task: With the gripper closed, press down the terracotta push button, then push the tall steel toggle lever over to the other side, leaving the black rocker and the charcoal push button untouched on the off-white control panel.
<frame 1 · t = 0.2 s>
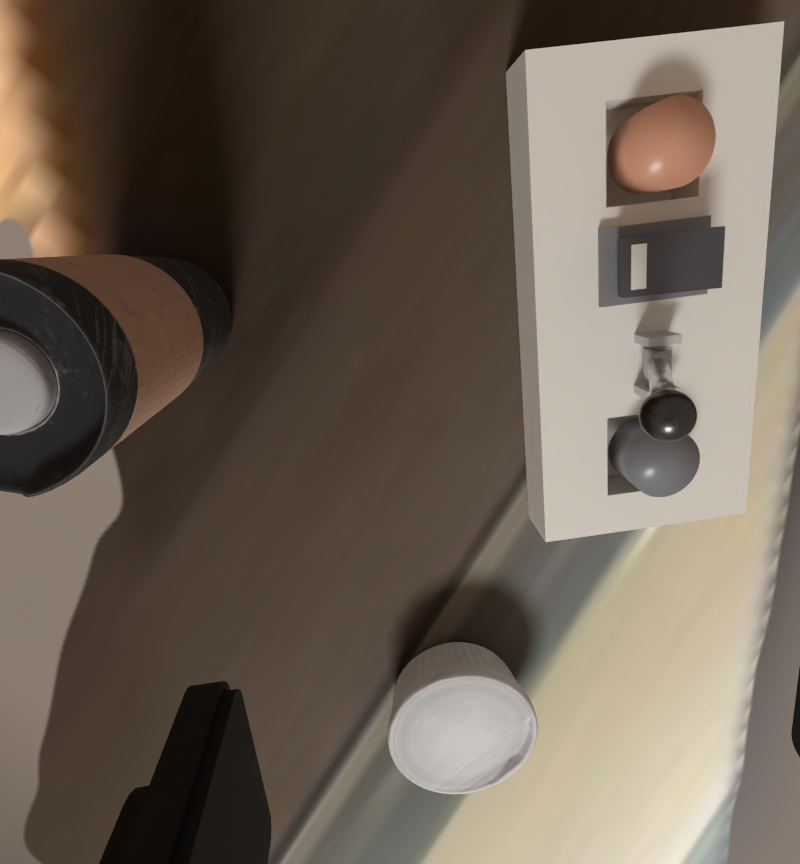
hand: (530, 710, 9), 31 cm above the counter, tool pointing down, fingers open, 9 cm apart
charcoal button: (652, 455, 37), point 5 cm above the counter, slide at 0.0 cm
black rocker: (669, 262, 32), point 6 cm above the counter, hinge at 10.0°
travel mug: (176, 315, 37), on the counter
terracotta button: (659, 148, 31), point 5 cm above the counter, slide at 0.0 cm
toggle lever: (662, 387, 30), point 10 cm above the counter, hinge at 25.0°
control panel: (621, 307, 39), on the counter
ramekin: (451, 684, 47), on the counter
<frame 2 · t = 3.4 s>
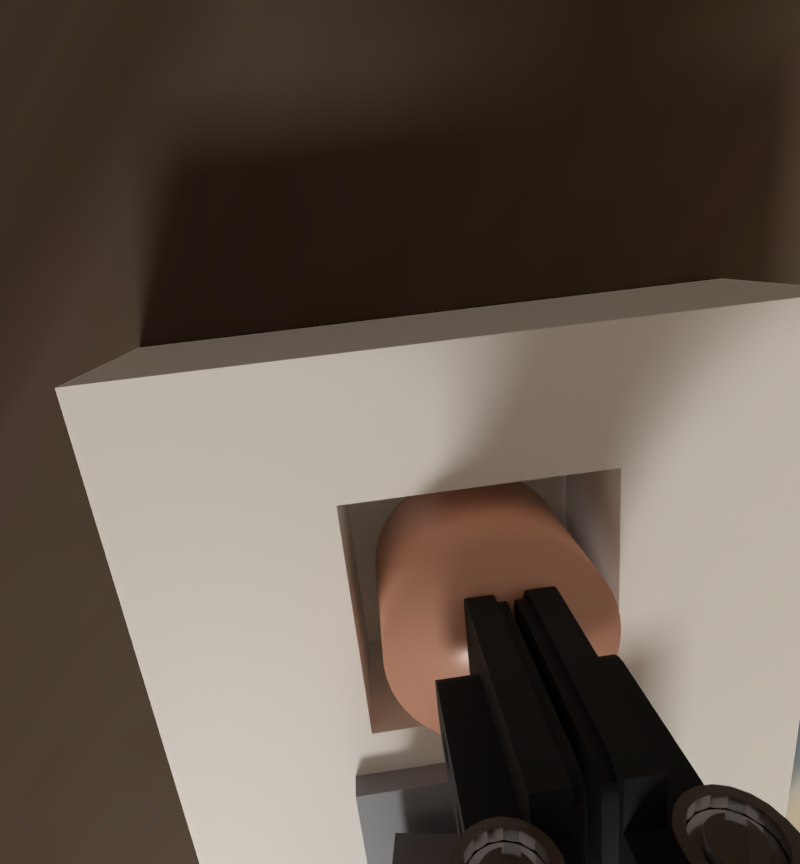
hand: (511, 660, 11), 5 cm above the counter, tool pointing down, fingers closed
terracotta button: (484, 596, 12), point 4 cm above the counter, slide at 1.0 cm, touching gripper
control panel: (476, 774, 18), on the counter
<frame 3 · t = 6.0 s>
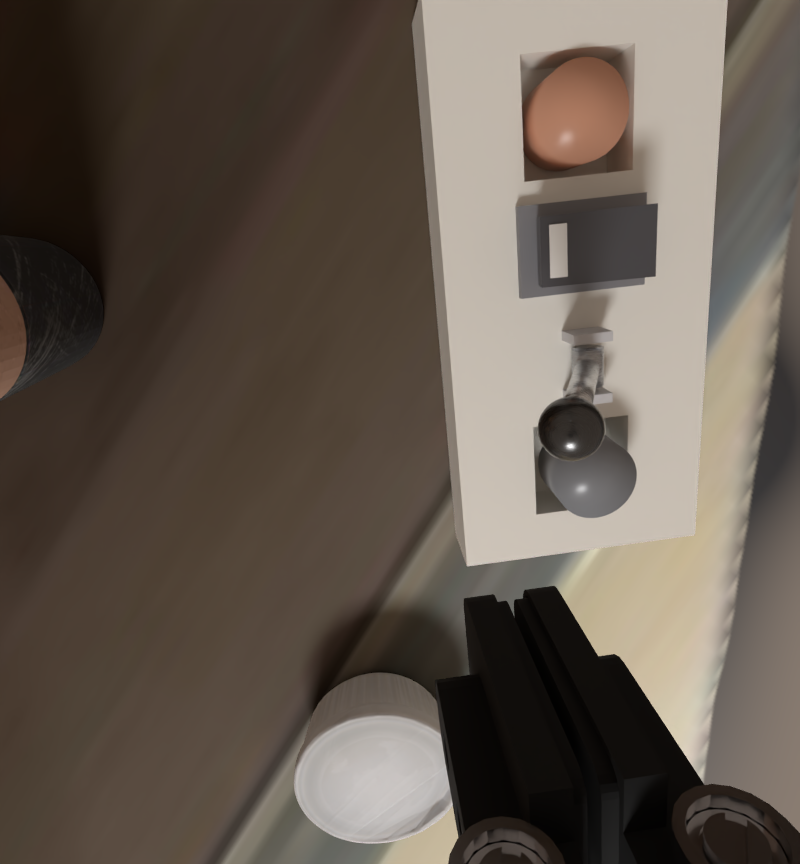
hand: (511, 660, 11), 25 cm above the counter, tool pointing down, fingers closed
charcoal button: (585, 469, 32), point 5 cm above the counter, slide at 0.0 cm
black rocker: (595, 246, 27), point 6 cm above the counter, hinge at 10.0°
travel mug: (39, 305, 32), on the counter
terracotta button: (570, 118, 28), point 3 cm above the counter, slide at 1.6 cm
toggle lever: (580, 393, 26), point 10 cm above the counter, hinge at 25.0°
control panel: (554, 299, 34), on the counter
ramekin: (376, 718, 43), on the counter
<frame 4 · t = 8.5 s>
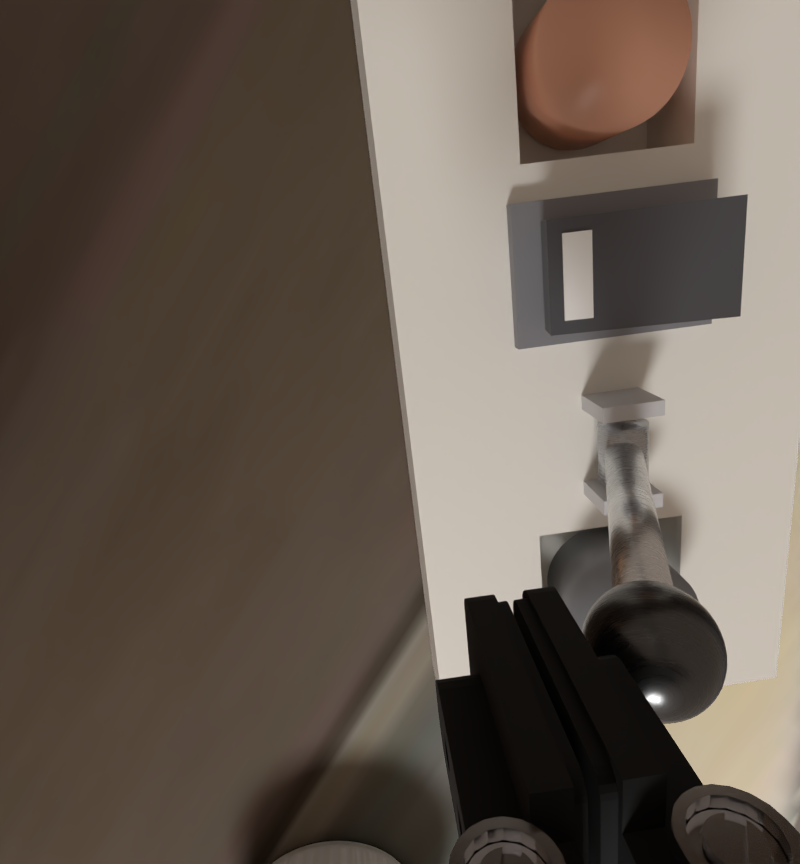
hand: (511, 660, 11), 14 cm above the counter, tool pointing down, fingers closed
charcoal button: (618, 597, 22), point 5 cm above the counter, slide at 0.0 cm
black rocker: (638, 267, 17), point 6 cm above the counter, hinge at 10.0°
terracotta button: (592, 62, 18), point 3 cm above the counter, slide at 1.6 cm
toggle lever: (633, 523, 15), point 10 cm above the counter, hinge at 21.8°, touching gripper
control panel: (567, 340, 23), on the counter
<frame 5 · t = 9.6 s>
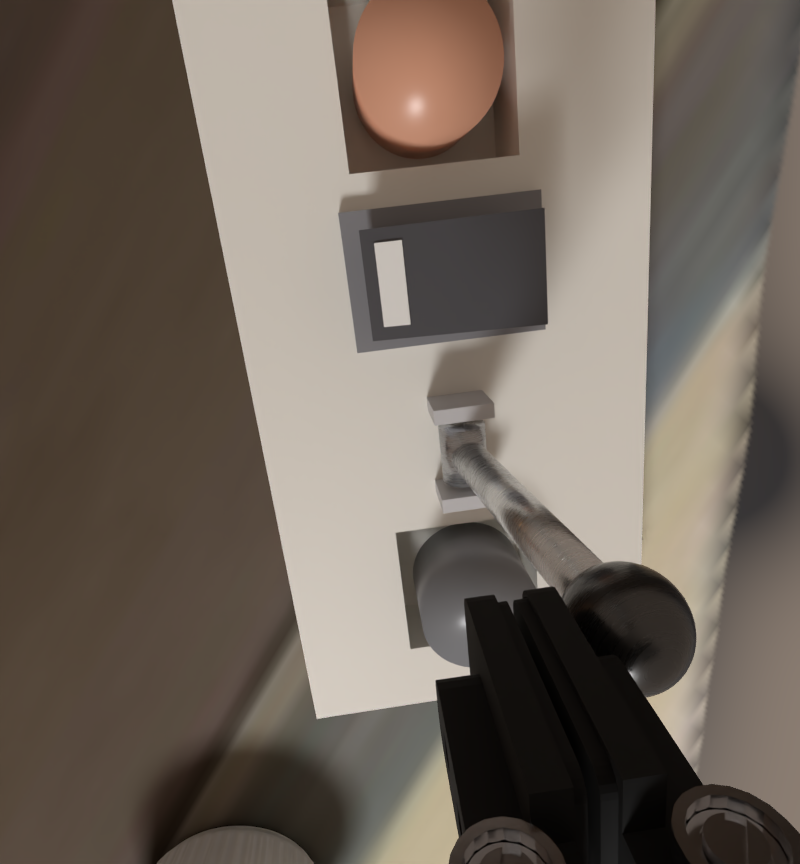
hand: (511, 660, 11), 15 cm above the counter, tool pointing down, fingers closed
charcoal button: (473, 592, 22), point 5 cm above the counter, slide at 0.0 cm
black rocker: (454, 276, 17), point 6 cm above the counter, hinge at 10.0°
terracotta button: (422, 75, 18), point 3 cm above the counter, slide at 1.6 cm
toggle lever: (522, 516, 15), point 10 cm above the counter, hinge at -6.5°, touching gripper
control panel: (435, 342, 24), on the counter
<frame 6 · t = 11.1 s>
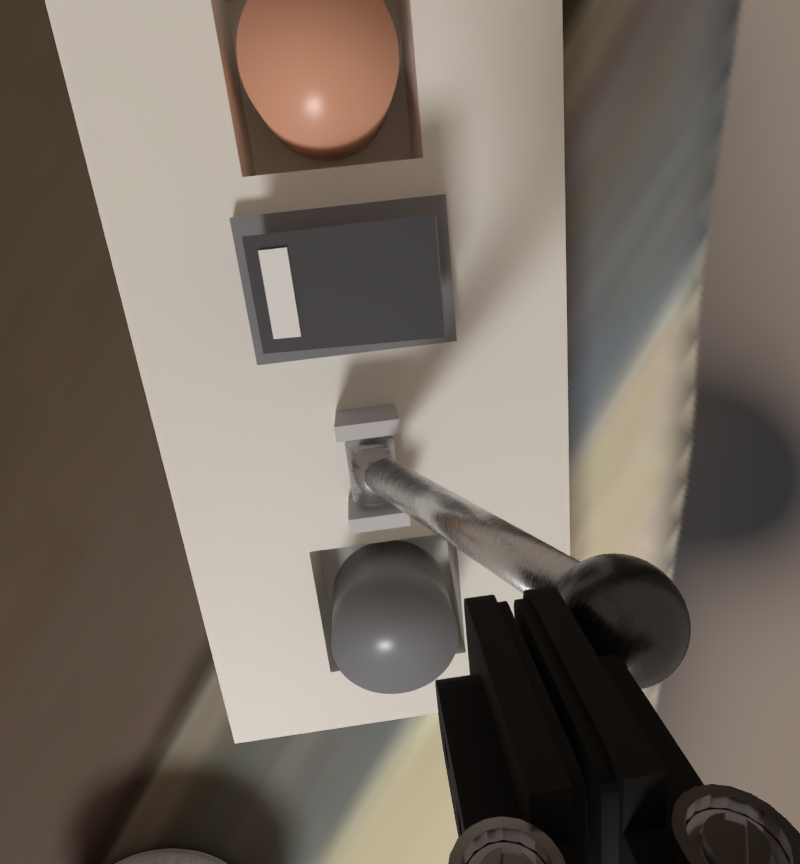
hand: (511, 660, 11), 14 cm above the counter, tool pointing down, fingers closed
charcoal button: (392, 614, 21), point 5 cm above the counter, slide at 0.0 cm
black rocker: (348, 285, 16), point 6 cm above the counter, hinge at 10.0°
terracotta button: (321, 73, 17), point 3 cm above the counter, slide at 1.6 cm
toggle lever: (465, 525, 15), point 10 cm above the counter, hinge at -25.1°, touching gripper
control panel: (358, 352, 23), on the counter
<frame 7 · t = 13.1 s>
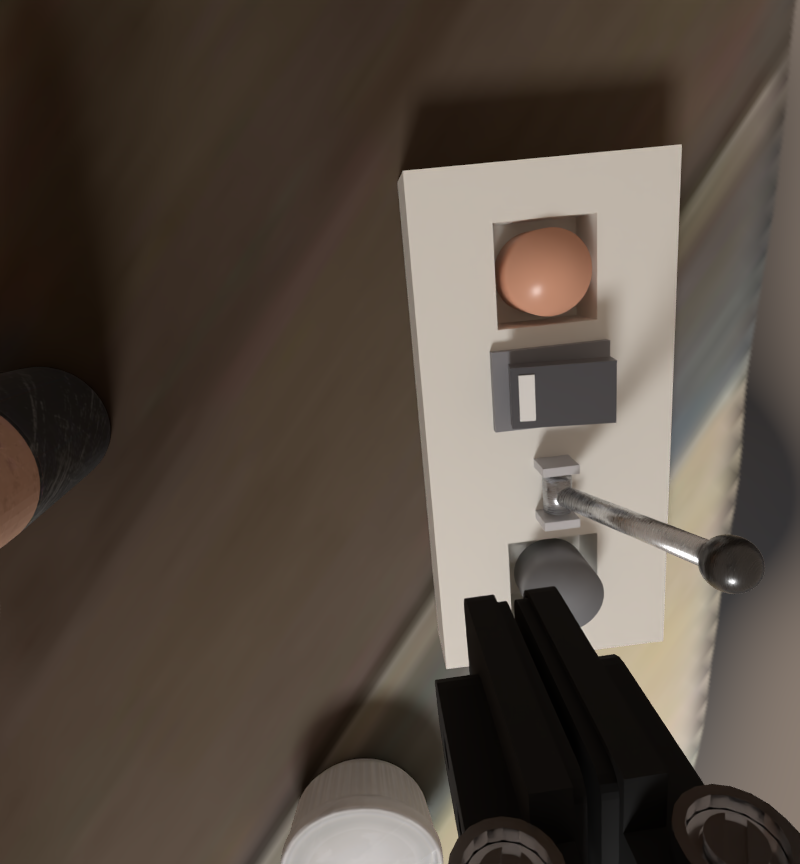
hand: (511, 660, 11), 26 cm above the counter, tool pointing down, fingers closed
charcoal button: (557, 583, 34), point 5 cm above the counter, slide at 0.0 cm
black rocker: (561, 393, 30), point 6 cm above the counter, hinge at 10.0°
travel mug: (51, 424, 35), on the counter
terracotta button: (540, 272, 31), point 3 cm above the counter, slide at 1.6 cm
toggle lever: (634, 524, 28), point 10 cm above the counter, hinge at -25.2°
control panel: (530, 419, 36), on the counter
ramekin: (361, 801, 44), on the counter
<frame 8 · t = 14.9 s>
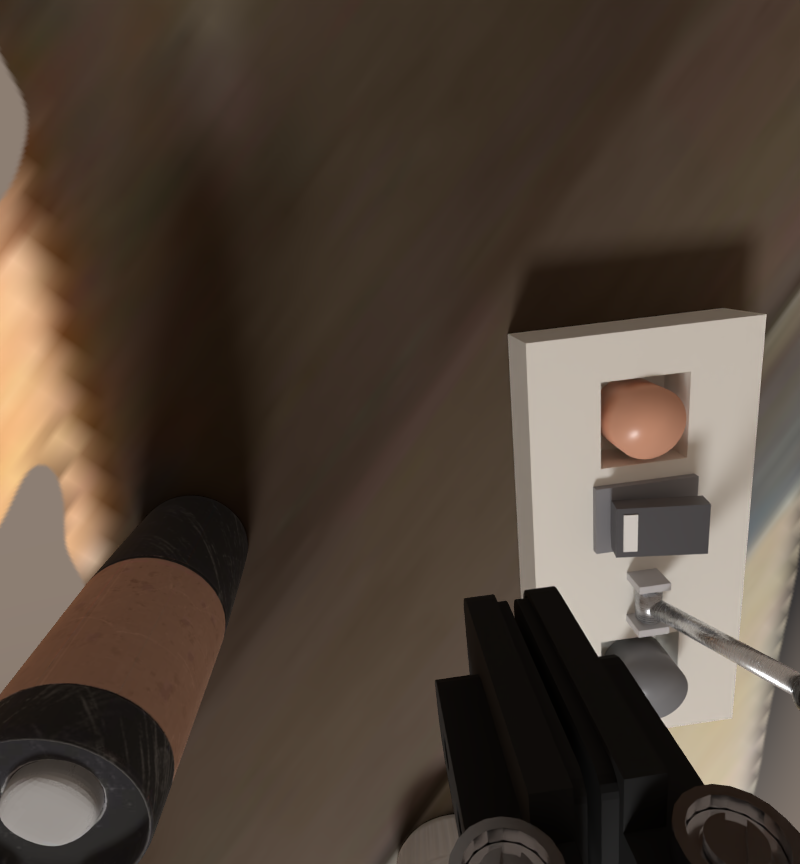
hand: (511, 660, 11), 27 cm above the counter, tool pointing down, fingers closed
charcoal button: (643, 675, 39), point 5 cm above the counter, slide at 0.0 cm
black rocker: (659, 527, 34), point 6 cm above the counter, hinge at 10.0°
travel mug: (195, 541, 39), on the counter
terracotta button: (637, 416, 35), point 3 cm above the counter, slide at 1.6 cm
toggle lever: (727, 646, 33), point 10 cm above the counter, hinge at -25.2°
control panel: (615, 526, 41), on the counter
ramekin: (452, 849, 49), on the counter
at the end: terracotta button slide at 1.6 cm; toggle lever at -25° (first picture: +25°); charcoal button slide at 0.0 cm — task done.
